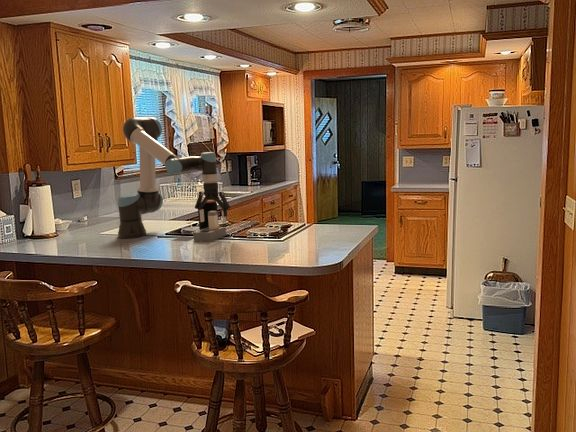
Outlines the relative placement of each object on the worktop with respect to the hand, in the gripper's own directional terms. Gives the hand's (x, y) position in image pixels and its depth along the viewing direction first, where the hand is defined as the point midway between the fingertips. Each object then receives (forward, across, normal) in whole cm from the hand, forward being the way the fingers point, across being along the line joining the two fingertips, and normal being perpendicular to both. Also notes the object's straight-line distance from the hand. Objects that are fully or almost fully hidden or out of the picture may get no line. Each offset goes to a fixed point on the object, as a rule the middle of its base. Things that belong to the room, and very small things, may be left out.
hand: (213, 222), depth 294 cm
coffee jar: (+8, -11, +12) cm, 19 cm away
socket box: (+8, 0, -4) cm, 9 cm away
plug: (+7, 0, 0) cm, 7 cm away
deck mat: (+8, -13, -8) cm, 18 cm away
